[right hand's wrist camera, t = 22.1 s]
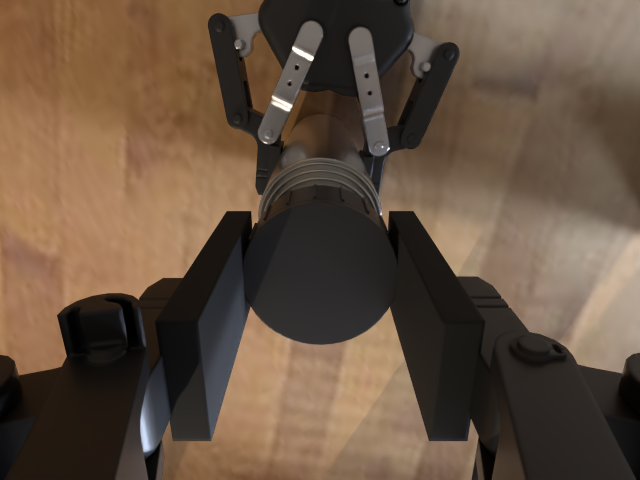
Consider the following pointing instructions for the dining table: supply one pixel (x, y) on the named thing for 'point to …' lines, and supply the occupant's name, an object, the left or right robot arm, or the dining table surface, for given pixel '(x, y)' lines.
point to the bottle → (320, 162)
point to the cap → (320, 266)
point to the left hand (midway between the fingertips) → (316, 205)
